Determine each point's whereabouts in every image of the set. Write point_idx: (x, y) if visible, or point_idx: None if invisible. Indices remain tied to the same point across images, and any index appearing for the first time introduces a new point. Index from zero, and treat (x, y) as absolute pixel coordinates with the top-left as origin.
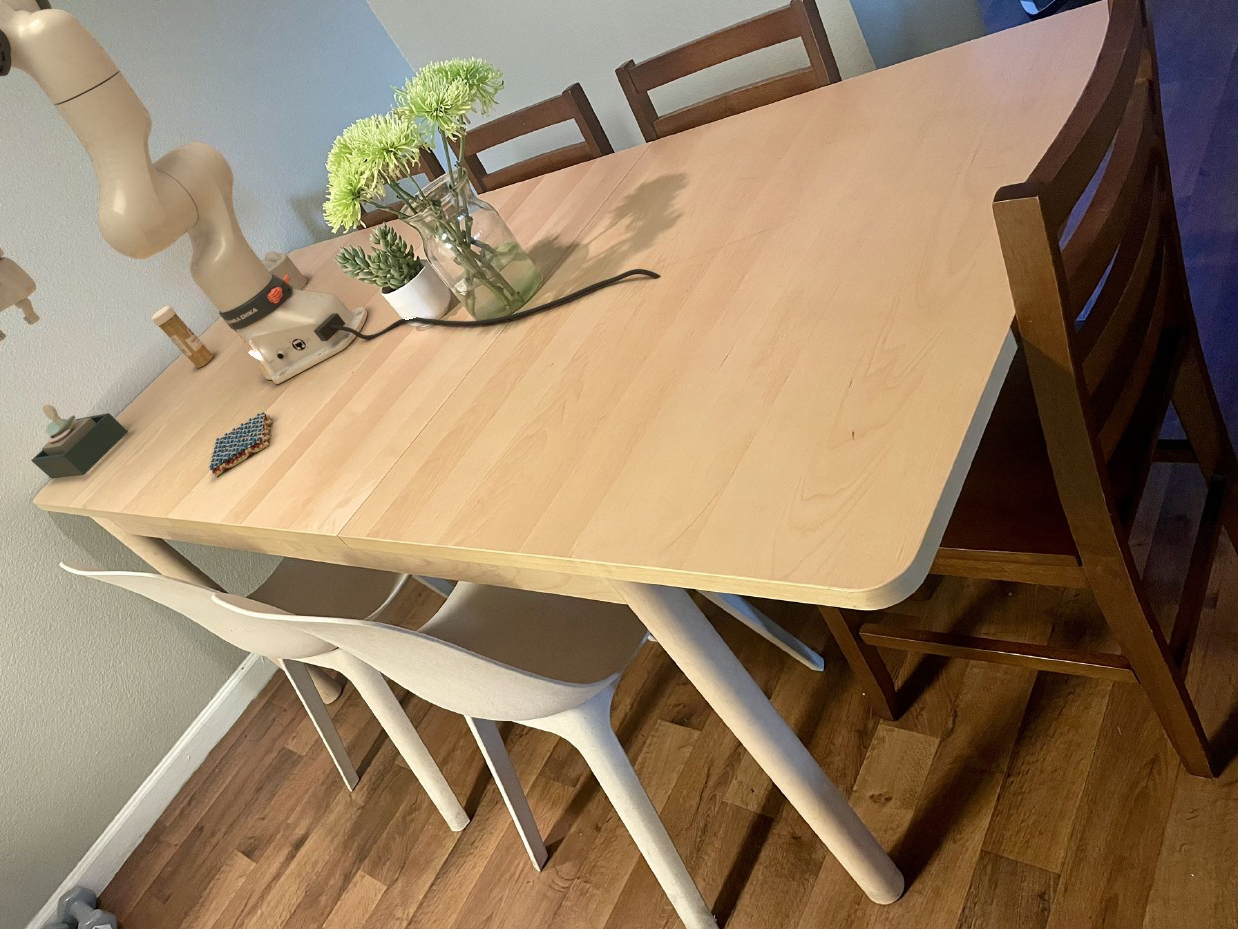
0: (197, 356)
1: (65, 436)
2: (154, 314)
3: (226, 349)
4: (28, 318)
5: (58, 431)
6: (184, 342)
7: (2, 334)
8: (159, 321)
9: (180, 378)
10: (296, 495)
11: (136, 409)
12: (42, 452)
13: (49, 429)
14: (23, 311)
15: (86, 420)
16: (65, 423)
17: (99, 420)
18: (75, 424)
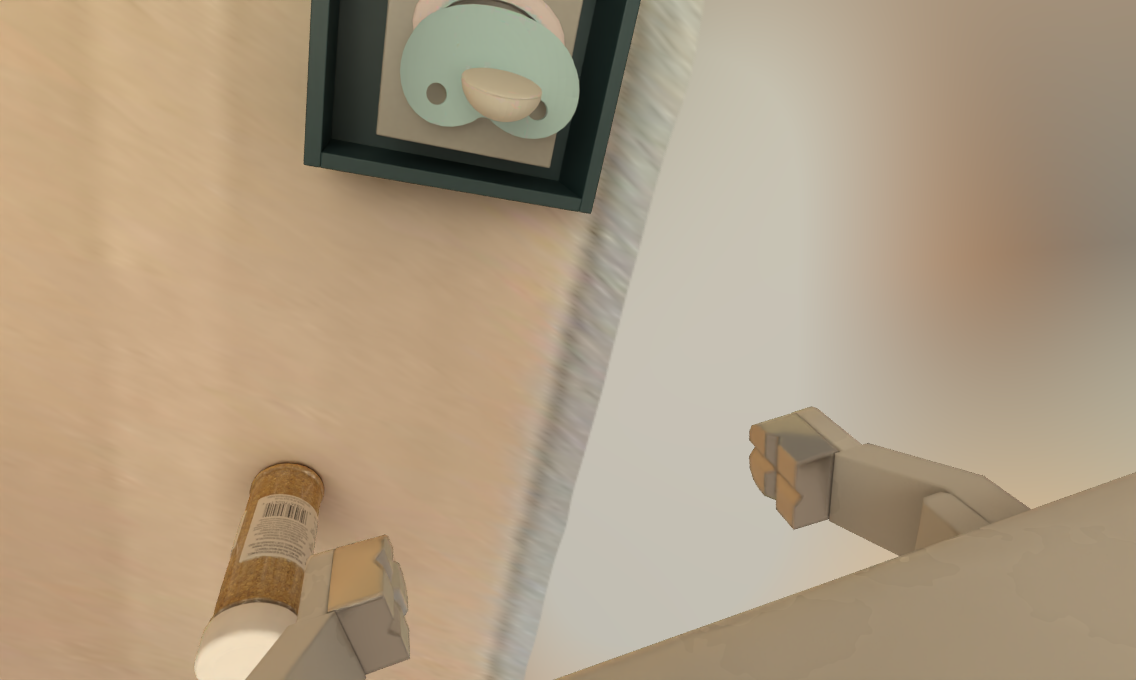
0: (256, 494)
1: None
2: None
3: (222, 528)
4: (325, 589)
5: (446, 8)
6: (241, 536)
7: (769, 482)
8: (230, 618)
9: (362, 431)
10: None
11: (475, 317)
12: (623, 8)
13: (560, 62)
14: (286, 671)
15: (385, 115)
16: (408, 43)
17: (401, 163)
18: None
